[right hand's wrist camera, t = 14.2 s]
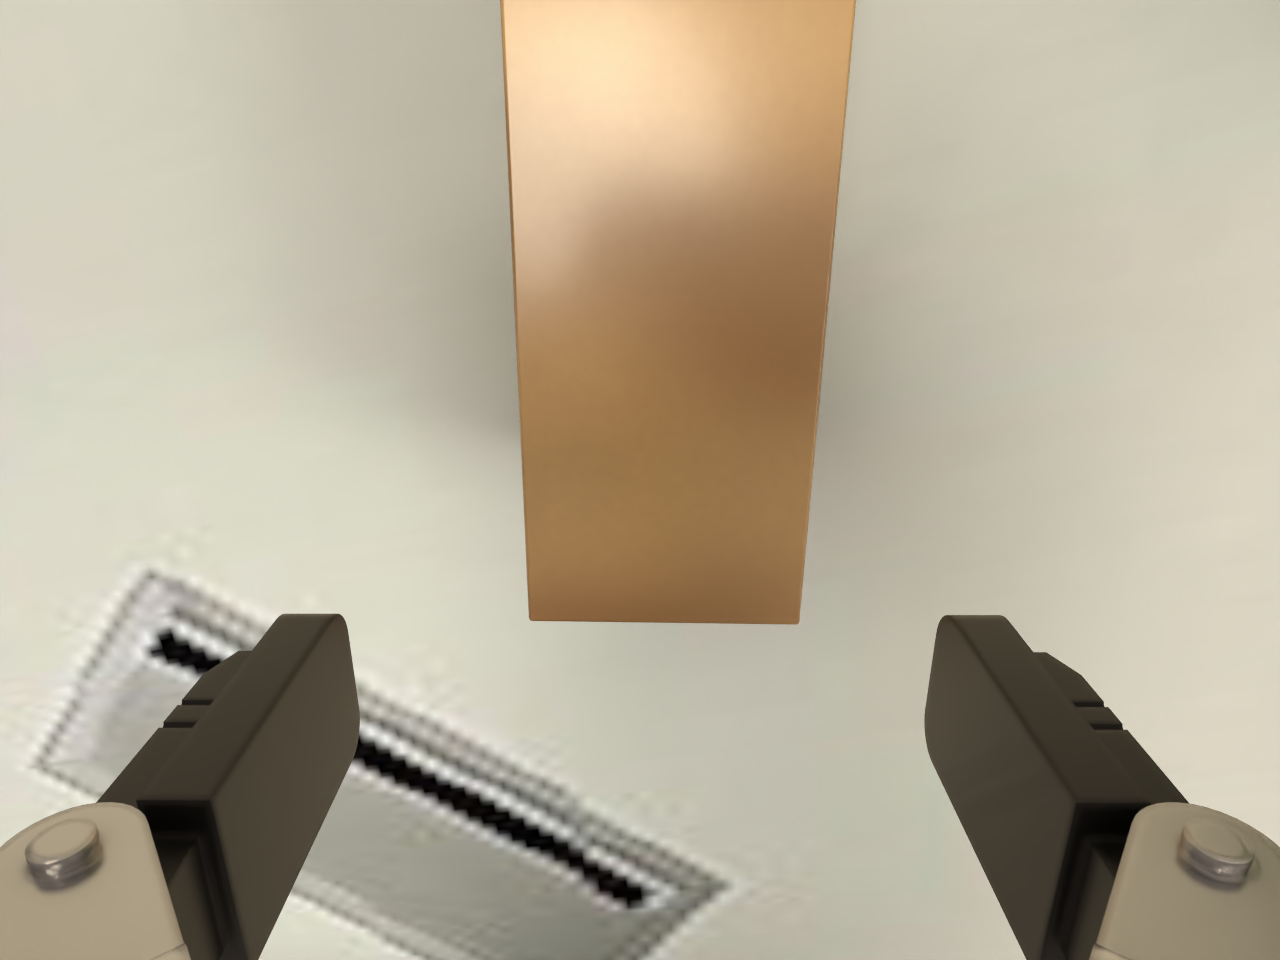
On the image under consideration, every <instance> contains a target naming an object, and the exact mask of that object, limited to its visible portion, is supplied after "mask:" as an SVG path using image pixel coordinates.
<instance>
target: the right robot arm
mask: <svg viewBox="0 0 1280 960" xmlns="http://www.w3.org/2000/svg"><path fill="white" fill-rule="evenodd" d="M359 726H360V714H359V705H358V698H357V691H356V684H355V677H354V670H353V663H352V656H351V649H350V642H349V635H348V629H347V625H346V622H345V620H344V618H343V617H342V616H341V615H340V614H282V615H281V616H279V617H278V618H277V619H276V621H275V622H274V623H273V624H272V626H271V627H270V628H269V630H268V631H267V632H266V633H265V635H264V636H263V637H262V639H261V640H260V641H259V643H258V644H257V645H256V646H255V648H254V649H253V650H252V651H238V652H236V653H235V654H233V655H232V656H230V657H229V658H227V659H226V660H224V661H223V662H221V663H220V664H218V665H216V666H215V667H213V668H212V669H210V670H209V671H207V672H206V673H204V674H203V675H202V677H201V678H200V679H199V680H198V681H197V683H196V684H195V685H194V686H193V687H192V689H191V690H190V691H189V692H188V693H187V695H186V696H185V697H184V698H183V699H182V705H177V707H176V708H175V709H174V710H173V711H172V713H171V714H170V715H169V716H168V717H167V719H166V720H165V721H164V726H163V728H158V729H157V731H156V732H155V733H154V734H153V735H152V737H151V738H150V739H149V740H148V741H147V743H146V744H145V745H144V746H143V747H142V749H141V750H140V751H139V752H138V753H137V755H136V756H135V757H134V758H133V759H132V761H131V762H130V763H129V764H128V765H127V767H126V768H125V769H124V770H123V771H122V773H121V774H120V775H119V776H118V777H117V779H116V780H115V781H114V782H113V783H112V784H111V786H110V787H109V788H108V789H107V790H106V792H105V793H104V794H103V795H102V796H101V798H100V799H99V800H98V801H97V802H96V803H93V804H86V805H82V806H77V807H73V808H70V809H67V810H64V811H61V812H58V813H56V814H53V815H51V816H48V817H46V818H44V819H42V820H40V821H38V822H36V823H34V824H32V825H30V826H29V827H27V828H26V829H24V830H22V831H21V832H19V833H18V834H16V835H15V836H14V837H12V838H11V839H10V840H8V841H7V842H6V843H5V844H3V845H2V846H1V847H0V960H258V959H259V957H260V955H261V953H262V950H263V948H264V946H265V944H266V942H267V940H268V938H269V936H270V933H271V931H272V929H273V927H274V925H275V923H276V921H277V919H278V917H279V914H280V912H281V910H282V908H283V906H284V904H285V902H286V900H287V897H288V895H289V893H290V891H291V889H292V887H293V885H294V883H295V881H296V878H297V876H298V874H299V872H300V870H301V868H302V866H303V864H304V861H305V859H306V857H307V855H308V853H309V851H310V849H311V847H312V845H313V842H314V840H315V838H316V836H317V834H318V832H319V830H320V828H321V826H322V823H323V821H324V819H325V817H326V815H327V813H328V811H329V809H330V806H331V804H332V802H333V800H334V798H335V796H336V794H337V792H338V790H339V787H340V785H341V783H342V781H343V779H344V777H345V775H346V773H347V770H348V768H349V766H350V764H351V762H352V760H353V757H354V754H355V751H356V747H357V743H358V736H359ZM925 736H926V743H927V748H928V752H929V755H930V758H931V761H932V763H933V765H934V767H935V769H936V771H937V773H938V776H939V778H940V780H941V782H942V784H943V786H944V788H945V790H946V792H947V794H948V796H949V799H950V801H951V803H952V805H953V807H954V809H955V811H956V813H957V815H958V817H959V819H960V822H961V824H962V826H963V828H964V830H965V832H966V834H967V836H968V838H969V840H970V842H971V845H972V847H973V849H974V851H975V853H976V855H977V857H978V859H979V861H980V863H981V865H982V868H983V870H984V872H985V874H986V876H987V878H988V880H989V882H990V884H991V886H992V888H993V891H994V893H995V895H996V897H997V899H998V901H999V903H1000V905H1001V907H1002V909H1003V911H1004V914H1005V916H1006V918H1007V920H1008V922H1009V924H1010V926H1011V928H1012V930H1013V932H1014V934H1015V937H1016V939H1017V941H1018V943H1019V945H1020V947H1021V949H1022V951H1023V953H1024V955H1025V957H1026V960H1280V847H1279V846H1278V845H1277V844H1275V843H1274V842H1273V841H1272V840H1270V839H1269V838H1268V837H1266V836H1265V835H1264V834H1262V833H1261V832H1259V831H1258V830H1256V829H1254V828H1253V827H1251V826H1250V825H1248V824H1246V823H1244V822H1242V821H1240V820H1238V819H1236V818H1234V817H1232V816H1229V815H1227V814H1224V813H1222V812H1219V811H1216V810H1213V809H1210V808H1207V807H1203V806H1198V805H1194V804H1189V803H1188V801H1187V800H1186V799H1185V798H1184V797H1183V795H1182V794H1181V793H1180V792H1179V791H1178V789H1177V788H1176V787H1175V786H1174V785H1173V784H1172V782H1171V781H1170V780H1169V779H1168V778H1167V776H1166V775H1165V774H1164V773H1163V772H1162V770H1161V769H1160V768H1159V767H1158V766H1157V765H1156V763H1155V762H1154V761H1153V760H1152V759H1151V757H1150V756H1149V755H1148V754H1147V753H1146V751H1145V750H1144V749H1143V748H1142V747H1141V746H1140V744H1139V743H1138V742H1137V741H1136V740H1135V738H1134V737H1133V736H1132V735H1131V734H1130V732H1129V731H1128V730H1123V727H1122V723H1121V722H1120V721H1119V719H1118V718H1117V717H1116V716H1115V715H1114V713H1113V712H1112V711H1111V710H1110V709H1109V708H1108V707H1104V702H1103V700H1102V699H1101V698H1100V697H1099V696H1098V695H1097V693H1096V692H1095V691H1094V690H1093V689H1092V687H1091V686H1090V685H1089V684H1088V683H1087V681H1086V680H1085V679H1084V678H1083V677H1082V676H1081V675H1080V674H1079V673H1077V672H1076V671H1074V670H1072V669H1071V668H1069V667H1068V666H1066V665H1065V664H1063V663H1062V662H1060V661H1059V660H1057V659H1056V658H1054V657H1052V656H1051V655H1049V654H1048V653H1046V652H1033V651H1032V650H1031V649H1030V648H1029V646H1028V645H1027V644H1026V643H1025V641H1024V640H1023V639H1022V637H1021V636H1020V635H1019V634H1018V632H1017V631H1016V630H1015V629H1014V627H1013V626H1012V625H1011V623H1010V622H1009V621H1008V620H1007V619H1006V618H1005V617H1004V616H1001V615H946V616H944V617H942V619H941V620H940V622H939V625H938V628H937V633H936V640H935V647H934V654H933V660H932V667H931V674H930V681H929V688H928V695H927V702H926V709H925Z"/></svg>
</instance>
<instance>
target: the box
mask: <svg viewBox="0 0 1280 960" xmlns="http://www.w3.org/2000/svg"><path fill="white" fill-rule="evenodd" d="M500 4H501V26H502V47H503V69H504V90H505V112H506V133H507V155H508V176H509V198H510V219H511V241H512V262H513V284H514V306H515V327H516V349H517V370H518V392H519V413H520V435H521V456H522V478H523V499H524V521H525V542H526V564H527V585H528V607H529V619H530V620H531V621H589V622H661V623H733V624H798V623H799V617H800V607H801V596H802V585H803V574H804V563H805V552H806V541H807V530H808V519H809V508H810V497H811V486H812V475H813V464H814V453H815V442H816V432H817V421H818V410H819V399H820V388H821V377H822V366H823V355H824V344H825V333H826V322H827V311H828V300H829V289H830V278H831V268H832V257H833V246H834V235H835V224H836V213H837V202H838V191H839V180H840V169H841V158H842V147H843V136H844V125H845V114H846V103H847V93H848V82H849V71H850V60H851V49H852V38H853V27H854V16H855V5H856V0H500Z"/></svg>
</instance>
